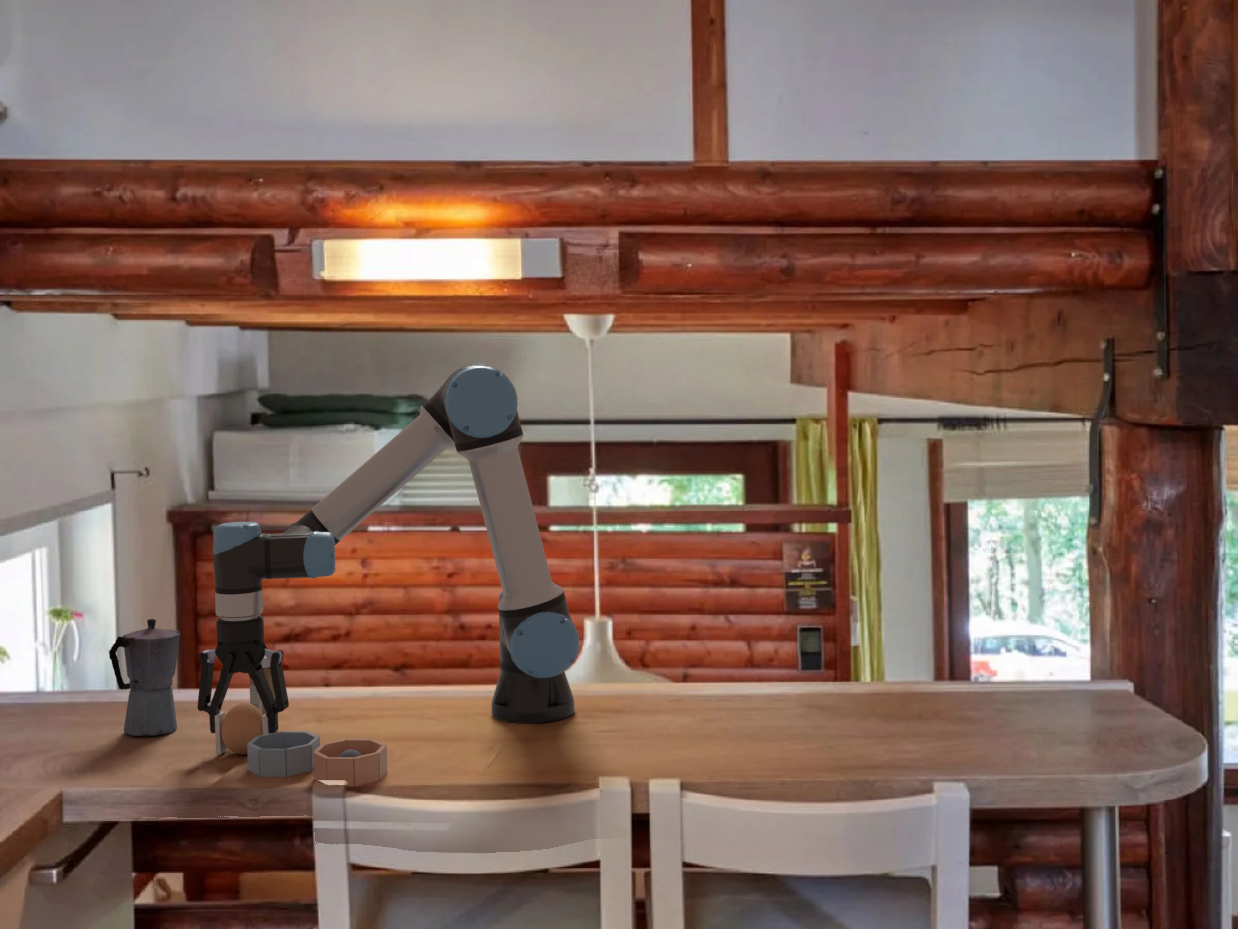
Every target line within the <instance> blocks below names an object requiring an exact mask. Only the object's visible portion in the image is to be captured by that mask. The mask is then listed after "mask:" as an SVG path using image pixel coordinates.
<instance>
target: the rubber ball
mask: <svg viewBox="0 0 1238 929" xmlns="http://www.w3.org/2000/svg"><path fill="white" fill-rule="evenodd" d="M357 756H362V755H361V753H360V752H358V751H356V750H353V749H349V750H346V751H344V752H342V753H341V754H340V756H339V757H357Z"/></svg>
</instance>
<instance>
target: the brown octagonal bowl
mask: <svg viewBox="0 0 1238 929" xmlns="http://www.w3.org/2000/svg"><path fill="white" fill-rule="evenodd" d="M349 749H353V750H356V751H358V752H360V753H361V755H362V756H357V757H339V756H340V754H341V753H342V752H344V751H346V750H349ZM387 750H388V746H387V744H386V743H383V742H381V741H379V740H377V739H374V738H345V739H339V740H336V741H331V742H330V741H329V742H326V743H322V744H321V743H320V746H319V747H318V748H317V749H316V750H315V751H314V752H313V764H314V770H313V780H314V781H317V782H318V780H345V781H347V782H348V786H347V787H359V786H362V785H366V784H370V783H374V782H375V783H376V782H378V781H381V780H382V779H383V777H385V775H386V774H387V773H388V751H387Z"/></svg>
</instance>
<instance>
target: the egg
mask: <svg viewBox="0 0 1238 929" xmlns="http://www.w3.org/2000/svg"><path fill="white" fill-rule="evenodd" d="M262 716H263V714H262V712H261V711H260V710H259V709H258V708H257V707H255V706H254V705H252V704H250V702H249V703H248V702H240V703H239V704H236V705H234V706H232V708H230V709H229V710H228V712H227V713H226V716H225V718H224V721H223V723H222V728H221V733H222V740H223V742H224V744H225V745H226V747H227V750H230V751H231V752H232V753H234V754H237V755H242V756H244V755H247V756H248V753H247V743H249V742H250V741H251V740H253V739H254V738H255V737H256V736H260V735H263V727H262Z"/></svg>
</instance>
